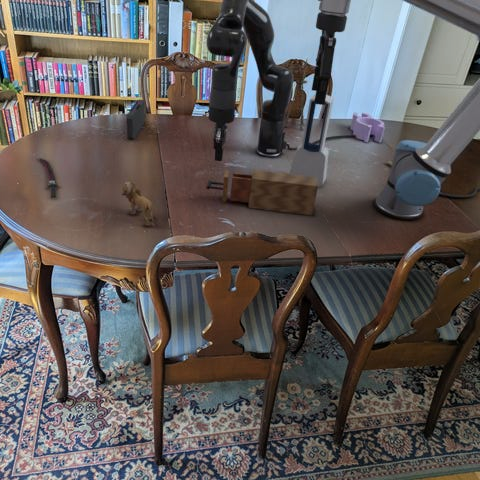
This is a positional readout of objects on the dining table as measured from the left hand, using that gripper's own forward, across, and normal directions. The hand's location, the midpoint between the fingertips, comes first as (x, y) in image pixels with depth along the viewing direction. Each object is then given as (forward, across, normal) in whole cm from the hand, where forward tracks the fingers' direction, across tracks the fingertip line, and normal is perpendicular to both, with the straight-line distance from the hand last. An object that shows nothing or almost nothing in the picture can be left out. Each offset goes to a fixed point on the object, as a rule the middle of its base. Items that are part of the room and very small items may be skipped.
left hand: (218, 160), depth 142 cm
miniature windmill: (+14, -80, +26) cm, 86 cm away
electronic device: (+14, -22, +30) cm, 40 cm away
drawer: (+13, 0, +9) cm, 16 cm away
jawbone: (+14, -41, +72) cm, 84 cm away
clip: (+14, -80, +59) cm, 100 cm away
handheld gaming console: (+14, -51, -40) cm, 66 cm away
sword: (+14, -1, -55) cm, 57 cm away
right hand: (-22, 0, +26) cm, 34 cm away
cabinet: (+14, 0, +21) cm, 25 cm away
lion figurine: (+14, +16, -20) cm, 29 cm away
